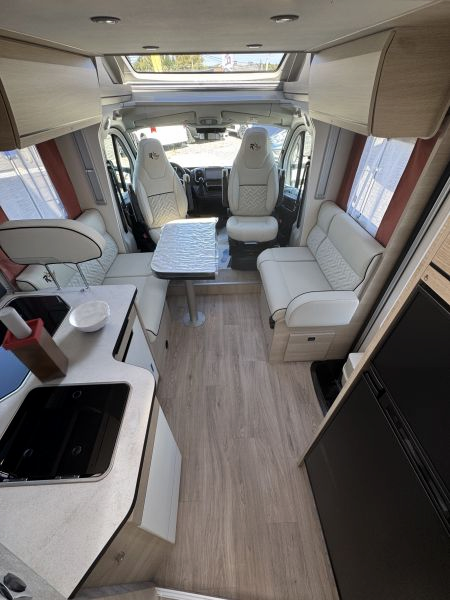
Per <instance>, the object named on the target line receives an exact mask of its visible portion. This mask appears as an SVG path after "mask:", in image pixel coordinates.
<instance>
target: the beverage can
mask: <svg viewBox="0 0 450 600" xmlns="http://www.w3.org/2000/svg"><path fill="white" fill-rule="evenodd" d="M0 321H1V322H2V323H3V325H4V326H6V328H7V330H8V329H9V330H10V331H11V332H12V333H13V334H14V335H15V336H16V338H17V339H25V338H27V337H29V336H30V335H31V333H32V330H31V329H30V328H29V327H28V325H27V324H26V323H25V322H26V321H25V320H24V319H23V318H22V317H21V315H20V314H19V313H18V311H16V309H15V308H13V307H12V306H6V307H2V308H1V309H0Z"/></svg>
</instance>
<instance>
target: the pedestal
mask: <svg viewBox="0 0 450 600" xmlns="http://www.w3.org/2000/svg"><path fill="white" fill-rule="evenodd" d="M9 351H10V353H12V354H13V355H14V356H15V358H16V359H18V360H19V361H20V362H21V364H23V365H24V366H25V367H26V368H27V369H28V370H29V372H30V373H32V374H33V375H34V377H35V378H36V379H38V380H39V382H40V383H41V384H45V383H48V382H51V381H56V380H59V379H61V378H65V377H67V372H68V364H69V358H68V357H67V355H66V354H65V353H64V352H63V350H62V349H61V348H60V346H59V345H58V344H57V342H56V341H55V340H54V338H53V337H52V336H51V335H50V333H49V332H48V331H47V329H46V328H45V327H44V326H43V327H42V331H41V335H40V340H39V342H38V343H34V344H30V345H26V346H23V347H19V348H15V349H11V350H9Z"/></svg>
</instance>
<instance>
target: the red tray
mask: <svg viewBox="0 0 450 600" xmlns="http://www.w3.org/2000/svg"><path fill="white" fill-rule="evenodd" d="M24 322H25V323H26V324H27V325H28V327H29V328H30V329H31V330H32V333H31V335H30V336H29V337H27V338H25V339H17V338H16V336H15V335H14V334H13V333H12V332H11V331H10V330H9V329H8V328H7V331H6V333H5V336H4V339H3V341H2V344H1V348H3V349H4V350H5V352H7V351H10V350H11V349H15V348H19V347H23V346H26V345H30V344H34V343H38V342H39V340H40V335H41V331H42V327H44V321H43V320H42V318H40V317H39V318H35V319H31V320H27V321H24Z"/></svg>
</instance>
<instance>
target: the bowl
mask: <svg viewBox="0 0 450 600" xmlns="http://www.w3.org/2000/svg"><path fill="white" fill-rule="evenodd" d="M110 316H111V310H110V306H109V304H108V303H107V302H106V301H101V300H91V301H88V302H84V303H82V304H80V305H79V306H77V307H76V308H74V310H72V312H70V315H69V318H68V321H69V324H70V325H71V326H72V327H73V328H74V329H75V330H78V331H80V332H85V333H90V332H91V333H92V332H95V331H98V330H100V329H103V327H104V326H105V325H106V324H107V323H108V322H109V319H110Z"/></svg>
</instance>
